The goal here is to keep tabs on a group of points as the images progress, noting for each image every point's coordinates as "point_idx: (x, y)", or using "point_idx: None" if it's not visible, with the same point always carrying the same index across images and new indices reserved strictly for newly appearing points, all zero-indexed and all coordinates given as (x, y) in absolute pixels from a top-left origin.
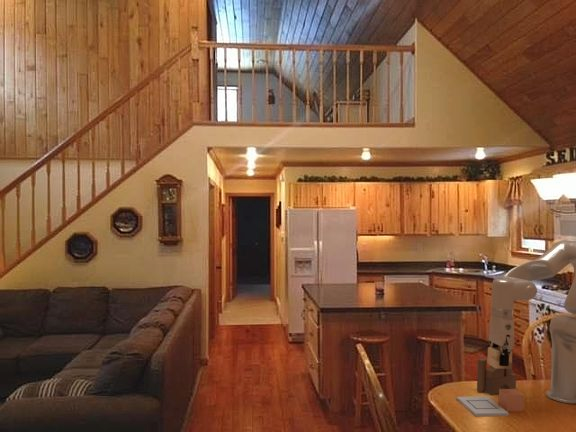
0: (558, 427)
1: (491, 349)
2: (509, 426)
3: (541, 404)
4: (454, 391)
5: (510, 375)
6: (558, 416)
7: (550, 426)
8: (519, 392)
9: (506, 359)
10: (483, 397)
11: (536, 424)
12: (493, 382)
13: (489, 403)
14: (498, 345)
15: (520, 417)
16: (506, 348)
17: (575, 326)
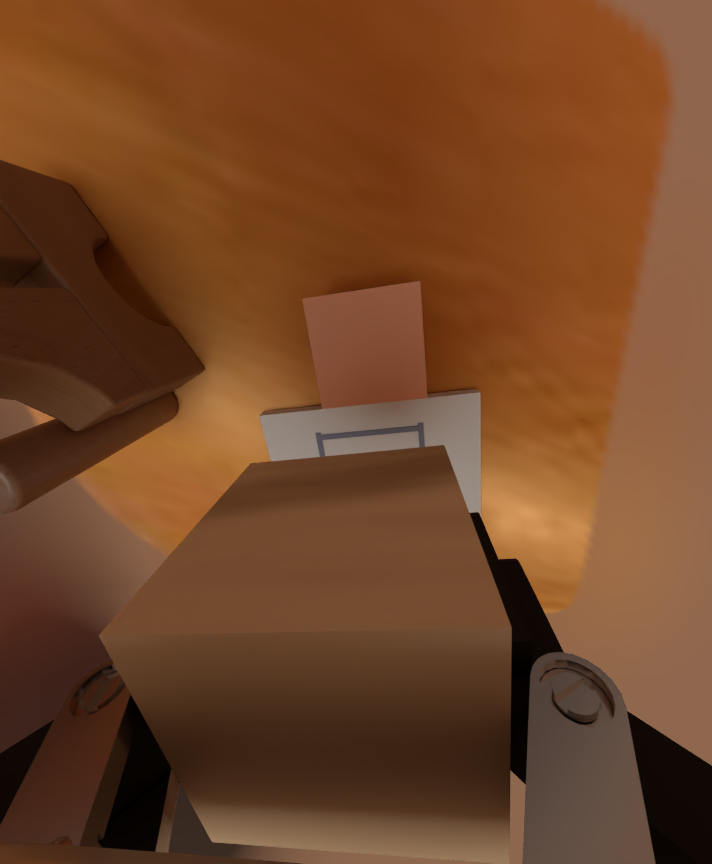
0: (662, 161)
1: (332, 839)
2: (597, 433)
3: (290, 96)
4: (198, 515)
5: (6, 213)
6: (495, 62)
7: (637, 211)
8: (375, 294)
9: (541, 624)
10: (279, 438)
11: (596, 287)
12: (159, 376)
13: (357, 439)
14: (113, 774)
15: (498, 336)
16: (535, 853)
17: None
